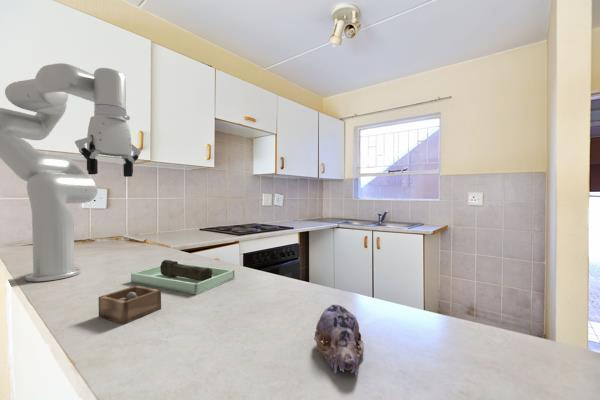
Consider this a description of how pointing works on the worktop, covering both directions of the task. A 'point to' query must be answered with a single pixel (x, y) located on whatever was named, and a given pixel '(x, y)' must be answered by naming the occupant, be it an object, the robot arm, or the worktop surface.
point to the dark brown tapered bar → (185, 271)
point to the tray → (182, 279)
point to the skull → (339, 338)
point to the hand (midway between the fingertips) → (111, 175)
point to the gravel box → (129, 304)
